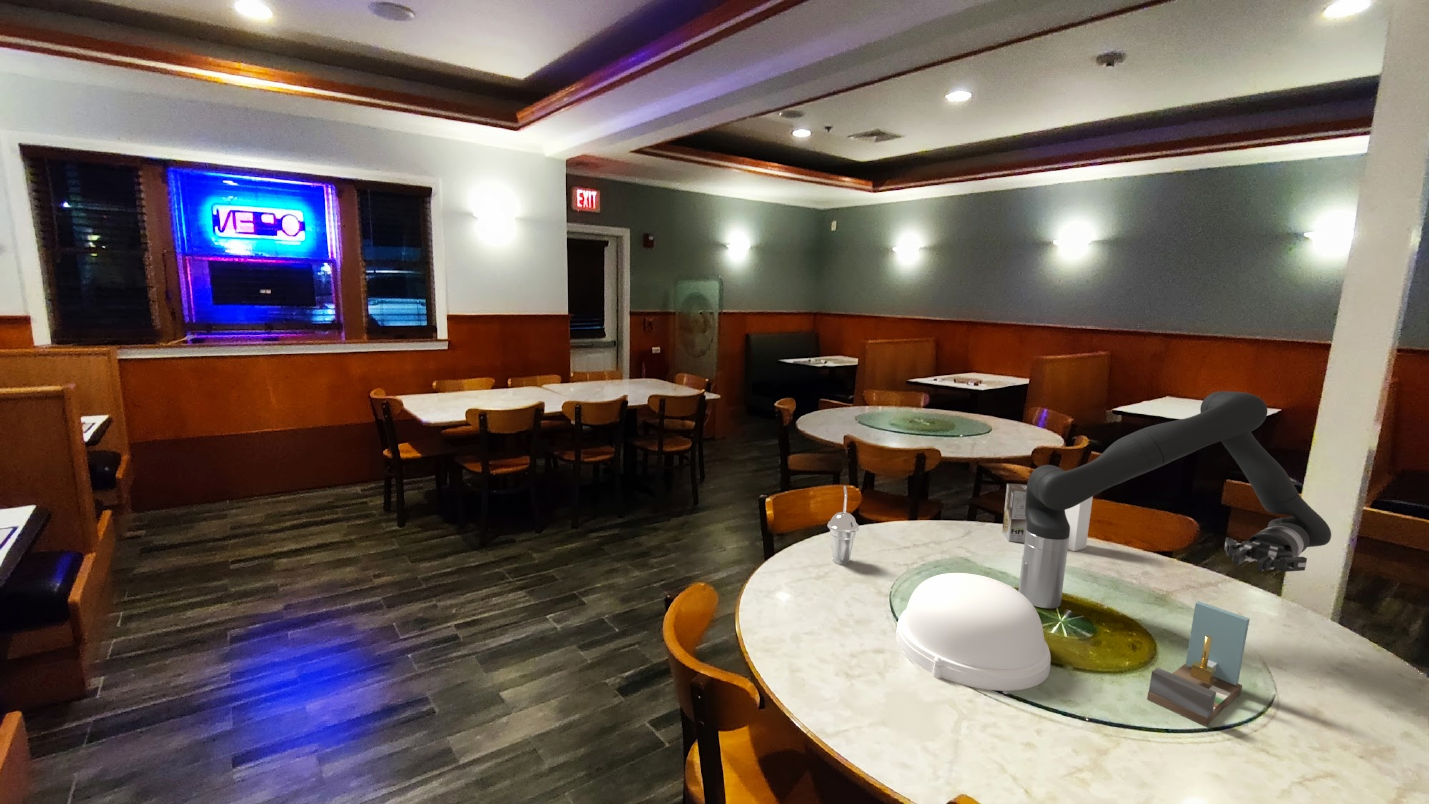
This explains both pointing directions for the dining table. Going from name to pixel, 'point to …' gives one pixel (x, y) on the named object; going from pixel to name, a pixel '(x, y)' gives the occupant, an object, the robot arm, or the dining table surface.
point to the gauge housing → (1191, 694)
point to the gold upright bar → (1203, 664)
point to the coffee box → (1015, 513)
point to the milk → (1079, 524)
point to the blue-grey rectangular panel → (1218, 640)
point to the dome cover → (974, 633)
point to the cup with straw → (842, 534)
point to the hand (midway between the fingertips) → (1248, 562)
